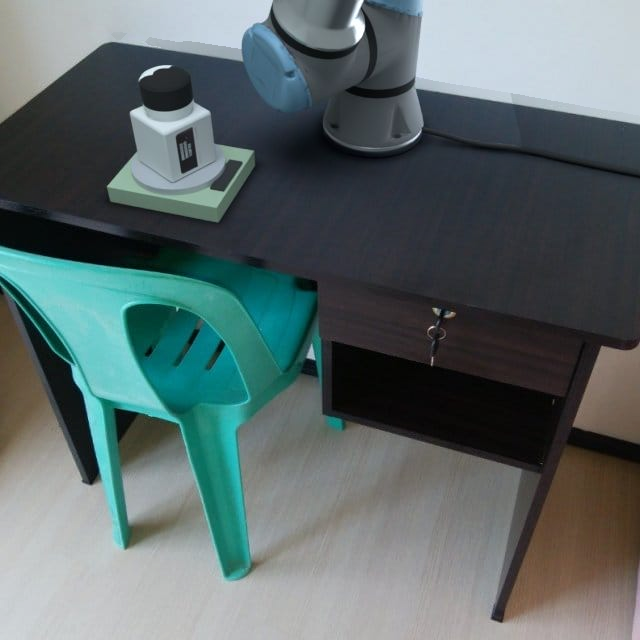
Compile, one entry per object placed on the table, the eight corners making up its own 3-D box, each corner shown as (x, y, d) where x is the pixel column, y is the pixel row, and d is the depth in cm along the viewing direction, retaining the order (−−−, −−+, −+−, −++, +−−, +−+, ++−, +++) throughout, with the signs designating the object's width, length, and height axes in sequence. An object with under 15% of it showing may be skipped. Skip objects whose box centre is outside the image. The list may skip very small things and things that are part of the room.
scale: (255, 165, 109) (253, 144, 106) (218, 222, 100) (215, 201, 97) (155, 147, 112) (151, 127, 110) (110, 201, 103) (105, 180, 100)
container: (217, 161, 104) (207, 73, 94) (172, 184, 100) (157, 95, 90) (183, 139, 107) (169, 53, 98) (138, 161, 104) (120, 73, 94)
